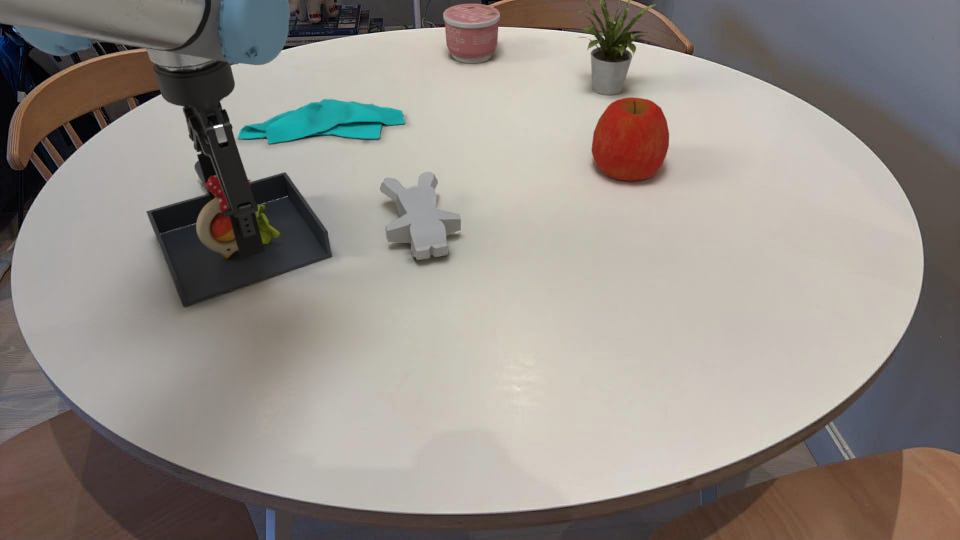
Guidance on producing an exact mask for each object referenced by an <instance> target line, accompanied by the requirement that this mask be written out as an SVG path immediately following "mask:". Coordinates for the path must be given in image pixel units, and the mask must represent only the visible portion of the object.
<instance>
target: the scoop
mask: <svg viewBox="0 0 960 540" xmlns="http://www.w3.org/2000/svg"><path fill="white" fill-rule="evenodd" d="M194 171H195V173H196V175H197V176H198V178H199V181H200V182H201V184H202V186H203V188H204V190H205V192H206V194H203V195H199V196H196V197H192V198H188V199H184V200H181V201H178V202H175V203H169V204H167V205H164V206H160V207H157V208H153V209H150V210H146V215H147V217H148V219H149V222H150V223H149V224H150V226H151V228H152V230H153V233H154V235H155V238H156V241H157V244H158V247H159V249H160V251H161V253H162V257H163V259H164V262H165V264H166V267H167V269H168V271H169V274H170V276H171V279H172V282H173V285H174V287H175V289H176V292H177V294H178V297H179V300H180V302H181V305H182V307H183V308H184V307H187V306H190V305H194V304H197V303H200V302H202V301H206V300H208V299H211V298H215V297H217V296H220V295H223V294H226V293H229V292H231V291H234V290H238V289H241V288H244V287H246V286H249V285H252V284H256V283H258V282H261V281H264V280H268V279H270V278H273V277H275V276H278V275H282V274H285V273H287V272H290V271H293V270H297V269H299V268H302V267H305V266H308V265H311V264H315V263H317V262H320V261H323V260H326V259H328V258H331V257H333V254H332V248H331V243H330V237H329V232H328V230H327V227H326V226H325V225H324V223H323V222H322V221H321V219H320V218H319V217H318V215H317V214H316V213H315V212H314V210H313V208H312V207H311V206H310V204H309V203H308V201H307V200H306V198H305V197H304V196H303V194H302V193H301V192H300V190H299V189H298V187H297V186H296V185H295V183H294V182H293V180H292V179H291V177H290V176H289V175H288V173H287V172H286V171H284V172H280V173H277V174H273V175H270V176H267V177H262V178H260V179H255V180H252V181H250V183H251V186H250V187H251V190H252V193H253V196H254V199H255V202H256V204H257V206H260V205H264V206H265V210H264V211H262V212H260V213H259V215H260V214H261V213H263V214H265V216H266V217H267V219H268V221H269V225H270V226H272V227H273V228H275V229H276V230H277V231H279V233H280V235H279V237H278V238H273V237H272V238H271V240H270V242H269V244H263V246H264V250H265V252H262V253H259V254H255V255H252V256H249V257H246V258H243V259H242V258H241V256H240V254H239V250H238V251H236V252H234V253H233V254H232V255H231V256H230V257H229V258H227V259H226V258H224V257H223V256H222V255H221V254H220V253H217V252H214V251H212V250H210V249H209V248H207V247H206V246H205V245H204V244H203V243H202V242H201V241H200V239H199V237H198V235H197V230H196V223H197V219H198V216H199V214H200V212H201V210H202V209H203V207H204V206H205V205H206V204H207V203H209V202H210V201H211V200H210V197H209V194H208V190H207V187H206V184H205V180H204V177H203V173H202V170H201V167H200V163H199V160H197V161H196V162H195V163H194Z"/></svg>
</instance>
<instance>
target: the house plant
mask: <svg viewBox="0 0 960 540" xmlns="http://www.w3.org/2000/svg"><path fill="white" fill-rule="evenodd" d="M584 1H585V2H586V3H587V4H588V6H589V7H590V9H591V10H592V12H591V11H587V10H578V13H589V14H590V15H592V16H593V18H595V19H596V21H597V23H598V25H599V27H600V29H601V31H602V34H603V36H602V34H600V32H599V29H598V27H597V26H596V24H595V23H594V21H593V20H592V19H591V18H590V17H589V16H587V15H583V14H582V15H581V14H580V15H579V14H578V15H577V16H578V17H580V16H581V17H585V18H586V19H588V20H589V21H590V23H591V24H592V25H587V26H585V27H583V28H582V31H585V32H586V34H588V35H592V36H594V37H595V39H593V40H592V39H590V38H588V40H589V42H588V44H587V49H586V51H588V50H589V49H591V48H593V47H594V48H593V49H592V50H591V51H590V68H591V69H590V70H591V85H592V90H593V92H595V93H597V94H600V95H605V96H614V95H617V94H620V93H622V91H623V88H624V86H625V82H626V79H627V76H628V72H629V69H630V66H631V63H632V59H633V56H635V54H636V50H637V46H636V44H634V43H633V42H634V41H636V40H638V39H639V38H641V37H645V35H644V34H648V32H646V31H641V30H631V28H632V27H633V26H634V25H635V24H636V23H637V22H638V20H642V19H645V17H643V16H644V15H645V14H646V12H647V11H648V10H650V9H651V8H654V7H655V6H657V5H658V3H655V4H654V3H653V4H651V5H648V6H646V7H644V8H642V9H641V11H639V12H638V13H637V14H635V16H634V17H633V18H631V20H629V22H628V23H627V25H626V26H625V27H624V25H625V22H626V20H627V17H628V14H629V11H630V6H631V0H628V1H627V3H626V6H625V8H624V9H623V14H622V12H619V8H620V5H621V3H622V0H619V2H618V4H617V7H616V11H615V15H614V20H613V21H612V19H611V16H610V12H609V10H608V6H607V5H608V4H607V2H606V0H598V2H599V4H600V7H601V11H602V14H603V17H604V21H605V22H604V23H605V26H604V24H603V22H602V20H601V19H600V17H599V15H598V14H597V11H596V10H595V8H594V6H593V4H592V3H591V2H590V1H589V0H584ZM618 12H619V13H618ZM621 14H622V16H621ZM620 17H621V19H619V18H620ZM630 30H631V31H630ZM635 34H636V35H635ZM579 38H581V39H582V38H584V39H587V37H586V36H578V39H579ZM598 45H599V46H598ZM595 47H596V48H595ZM628 49H629V50H630V51H629V50H628Z"/></svg>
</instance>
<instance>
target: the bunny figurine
mask: <svg viewBox="0 0 960 540" xmlns="http://www.w3.org/2000/svg"><path fill="white" fill-rule="evenodd" d="M438 184H439V181H438V178H437V176H436V174H435V173H434V172H432V171H424V172H422V173H420V175H419V176H418V179H417V185H416V186H411V187H408V188H405V187H404V186H403V184H402V183H401V182H400V181H399V180H398V179H396V178H395V177H385V178H383V180H382V182H381V184H380V187H379V191H380V192H381V193H382V194H383V195H385V196H387V197H388V198H390V199H391V200H392V201H394V202H395V203H396V204H395V205H396V210H397V216H398V218H397V219H395V220H393V221H392V222H390V223H388V224H386V225H385V235H386V240H387V242H388V243H396V244H397V243H398V244H399V243H400V244H410V250H411V251H410V252H411V256H412V257H413V258H415V259H416V261H420V260H427V259H430V258H431V256H433V257H434V258H438V257H443V256H448V255H449V253H448V252H449V251H448V249H449V247H448V242H447V236H449V235H452V234H454V233H456V232H457V233H458V232H459V231H461V230H462V217H461V213H458V212H453V211H449V210H444V209H440V208H438V207H437V194H436V193H437V192H436V189H437V186H438Z"/></svg>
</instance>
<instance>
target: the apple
mask: <svg viewBox="0 0 960 540" xmlns="http://www.w3.org/2000/svg"><path fill="white" fill-rule="evenodd" d="M669 146H670V131H669V126H668V121H667V118H666V116H665V114H664V111H663V109H662V107H660V106H659V105H658V104H657V103H655V102H654V101H653V100H651V99H647V98H641V97H631V96H630V97H623V98H619V99H616V100H614V101H612V102H611V103H610V104H609V105H608V106H607V107H606V108H605V110H604V111H603V113H602V114H601V115H600V117H599V118H598V120H597V123H596V126H595V128H594V130H593V135H592V143H591V154H592V158H593V161H594V163H595V164H596V166H597V168H598V169H599V170H600V171H601V172H603V173H604V174H605V175H606V176H607V177H609V178H612V179H615V180H618V181H627V182H628V181H629V182H634V181H641V180H646V179H648V178H651V177H653V176H654V175H655V174H656V173H658V171H659V170H660V168H661V167H662V166H663V164H664V162H665V159H666V158H667V153H668V151H669Z"/></svg>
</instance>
